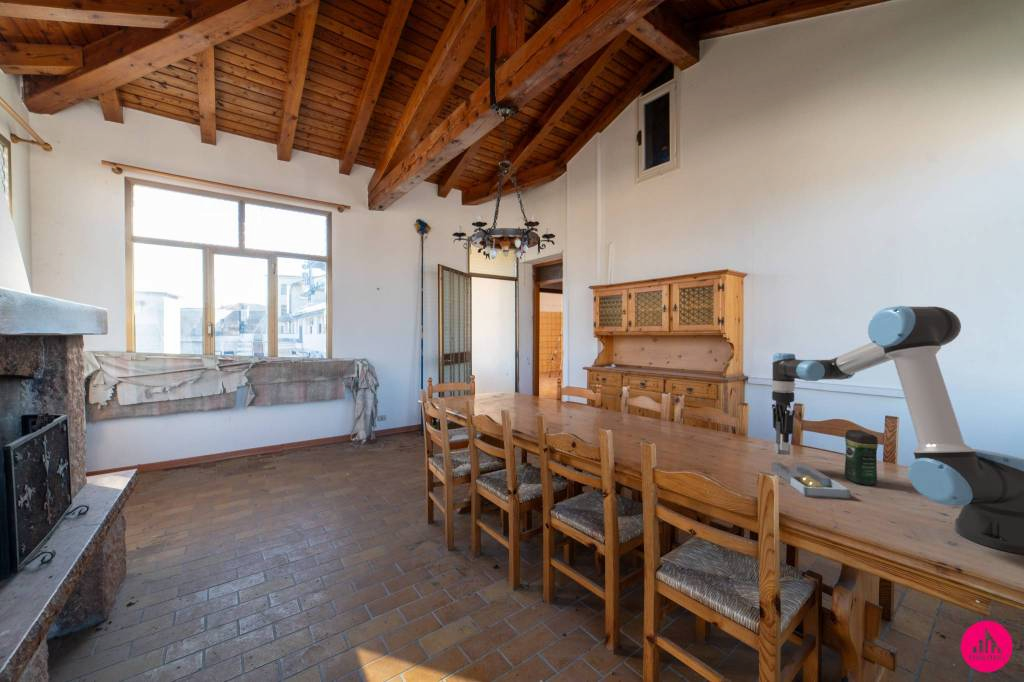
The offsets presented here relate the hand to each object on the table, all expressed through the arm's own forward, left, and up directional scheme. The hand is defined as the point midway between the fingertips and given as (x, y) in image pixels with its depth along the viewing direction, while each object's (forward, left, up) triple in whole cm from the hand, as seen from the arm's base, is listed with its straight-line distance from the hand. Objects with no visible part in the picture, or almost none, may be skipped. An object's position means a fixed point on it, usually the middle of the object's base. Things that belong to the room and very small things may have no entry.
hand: (782, 448), depth 164 cm
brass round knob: (-22, +2, -5) cm, 23 cm away
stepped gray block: (0, 0, -2) cm, 2 cm away
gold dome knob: (-26, +3, -5) cm, 27 cm away
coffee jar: (-12, -21, -8) cm, 26 cm away
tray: (-26, 0, -8) cm, 27 cm away
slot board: (-13, 0, -8) cm, 15 cm away
